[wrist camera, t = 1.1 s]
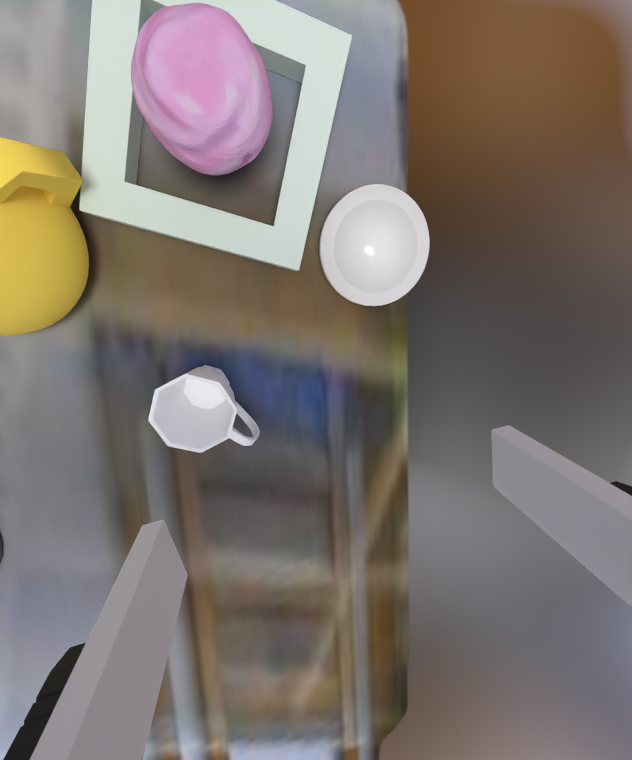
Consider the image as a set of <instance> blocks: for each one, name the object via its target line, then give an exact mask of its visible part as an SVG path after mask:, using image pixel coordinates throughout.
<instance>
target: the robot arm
mask: <svg viewBox="0 0 632 760" xmlns="http://www.w3.org/2000/svg"><path fill="white" fill-rule="evenodd" d="M492 465H493V487H495V488H496V489H497V490H498V491H499V492H500V493H501V494H503V495H504V496H505V497H506V498H507V499H508V500H509V501H511V502H512V503H513V504H514V505H515V506H516V507H518V508H519V509H520V510H521V511H522V512H523V513H524V514H525V515H527V516H528V517H529V518H530V519H531V520H532V521H533V522H535V523H536V524H537V525H538V526H539V527H540V528H542V529H543V530H544V531H545V532H546V533H547V534H548V535H550V536H551V537H552V538H553V539H554V540H555V541H556V542H557V543H559V544H560V545H561V546H562V547H563V548H564V549H566V550H567V551H568V552H569V553H570V554H571V555H573V556H574V557H575V558H576V559H577V560H578V561H579V562H580V563H582V564H583V565H584V566H585V567H586V568H587V569H588V570H590V571H591V572H592V573H593V574H594V575H595V576H596V577H598V578H599V579H600V580H601V581H602V582H603V583H604V584H606V585H607V586H608V587H609V588H610V589H611V590H612V591H614V592H615V593H616V594H617V595H618V596H619V597H620V598H622V599H623V600H624V601H625V602H626V603H627V604H628V605H630V606H631V607H632V486H628V485H626V484H623V483H620V482H617V481H616V482H612V483H608V482H606V481H605V480H603V479H601V478H599V477H598V476H596V475H594V474H593V473H591V472H589V471H587V470H586V469H584V468H582V467H580V466H579V465H577V464H575V463H573V462H572V461H570V460H568V459H566V458H564V457H563V456H561V455H560V454H558V453H556V452H554V451H553V450H551V449H549V448H547V447H546V446H544V445H542V444H540V443H538V442H537V441H535V440H533V439H532V438H530V437H528V436H526V435H525V434H523V433H521V432H519V431H518V430H516V429H514V428H513V427H511V426H509V425H508V426H504V427H501V428H498V429H494V430H492ZM1 557H2V541H1V537H0V561H1ZM187 576H188V575H187V573H186V570H185V568H184V566H183V563H182V561H181V559H180V556H179V554H178V552H177V549H176V547H175V545H174V542H173V540H172V538H171V535H170V533H169V531H168V528H167V526H166V524H165V521H164V519H163V520H160V521H156V522H152V523H149V524H145V525H142V527H141V529H140V531H139V533H138V535H137V537H136V539H135V541H134V544H133V546H132V548H131V550H130V552H129V554H128V556H127V558H126V560H125V562H124V564H123V566H122V569H121V571H120V573H119V575H118V577H117V579H116V581H115V583H114V585H113V587H112V589H111V591H110V594H109V596H108V598H107V600H106V602H105V604H104V606H103V608H102V610H101V612H100V614H99V617H98V619H97V621H96V623H95V625H94V627H93V629H92V631H91V633H90V635H89V637H88V639H87V642H86V643H84V644H80V645H77V646H74V647H70V648H69V649H68V651H67V652H66V653H65V654H64V656H63V657H62V658H61V659H60V661H59V662H58V663H57V664H56V666H55V667H54V668H53V669H52V670H51V672H50V673H49V675H48V677H47V679H46V681H45V683H44V685H43V687H42V688H41V690H40V692H39V694H38V696H37V698H36V699H37V700H36V703H34V704H33V705H32V707H31V709H30V711H29V713H28V715H27V716H26V718H25V720H24V725H23V726H22V727H21V728H20V730H19V731H18V733H17V735H16V737H15V739H14V741H13V743H12V744H11V746H10V748H9V750H8V752H7V754H6V756H5V758H4V759H3V760H143V756H144V752H145V748H146V744H147V740H148V736H149V731H150V727H151V723H152V719H153V715H154V711H155V707H156V703H157V699H158V695H159V690H160V686H161V682H162V678H163V674H164V670H165V666H166V662H167V658H168V654H169V649H170V645H171V641H172V637H173V633H174V629H175V625H176V621H177V617H178V613H179V608H180V604H181V600H182V596H183V592H184V588H185V584H186V580H187Z"/></svg>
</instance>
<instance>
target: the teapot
mask: <svg viewBox="0 0 632 760" xmlns="http://www.w3.org/2000/svg"><path fill="white" fill-rule="evenodd" d="M82 182H83V179H82V178H81V176H80V175H79V173H78V172H77V171H76V169H75V168H74V166H73V165H72V163H71V162H70V160H69V159H68V158H67V156H66V155H65V153H64V152H60V151H56V150H51V149H47V148H43V147H39V146H35V145H30V144H26V143H22V142H18V141H14V140H9V139H5V138H1V137H0V336H11V335H19V334H26V333H31V332H35V331H39V330H41V329H44V328H46V327H49V326H51V325H52V324H54V323H56V322H58V321H59V320H60V319H62V318H63V317H64V316H65V315H67V314H68V313H69V312H70V311H71V309H72V308H73V307H74V306H75V305H76V303H77V302H78V300H79V299H80V297H81V295H82V293H83V291H84V288H85V286H86V282H87V278H88V271H89V255H88V249H87V243H86V240H85V237H84V233H83V231H82V229H81V226H80V224H79V222H78V220H77V218H76V216H75V215H74V213H73V211H72V209H71V208H70V206H71V204H72V202H73V200H74V198H75V196H76V194H77V192H78V190H79V188H80V186H81V184H82Z"/></svg>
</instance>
